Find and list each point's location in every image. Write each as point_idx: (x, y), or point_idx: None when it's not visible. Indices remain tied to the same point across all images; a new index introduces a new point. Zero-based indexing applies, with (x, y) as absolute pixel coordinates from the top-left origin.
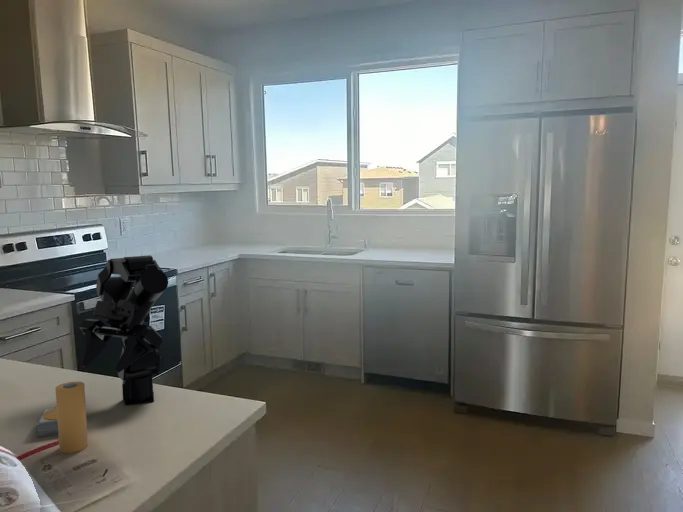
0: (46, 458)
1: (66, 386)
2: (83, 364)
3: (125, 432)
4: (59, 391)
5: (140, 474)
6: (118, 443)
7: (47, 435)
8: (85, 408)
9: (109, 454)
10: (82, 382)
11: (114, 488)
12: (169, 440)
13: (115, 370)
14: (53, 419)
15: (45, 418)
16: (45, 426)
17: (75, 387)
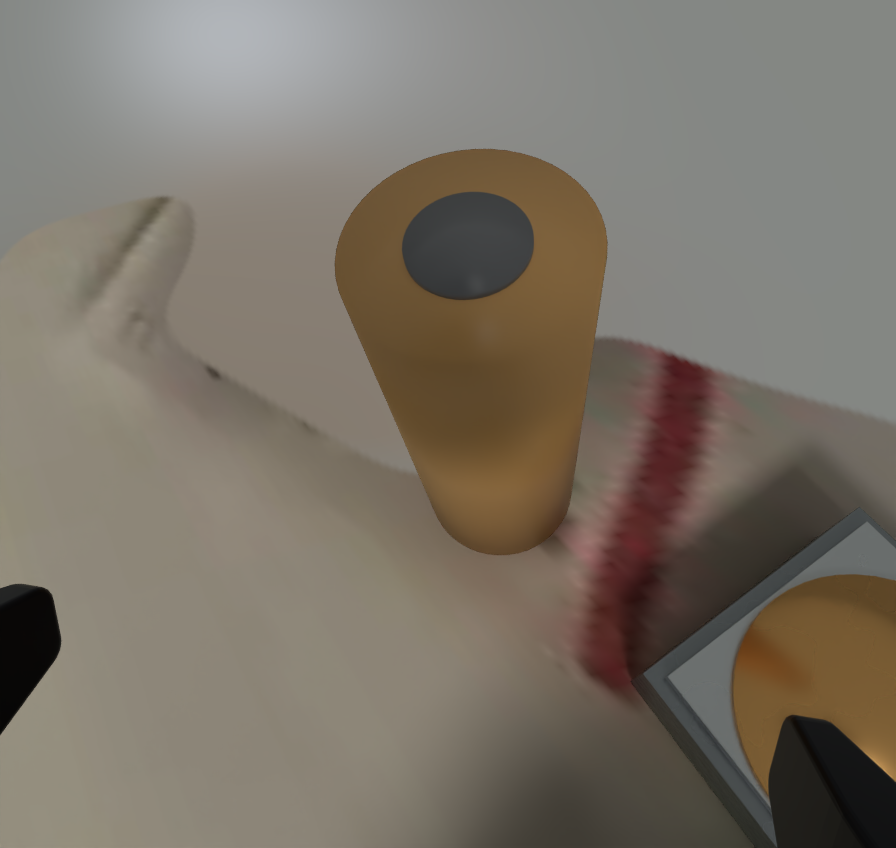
0: None
1: (479, 213)
2: (792, 724)
3: (331, 750)
4: (480, 158)
5: (60, 378)
6: (293, 598)
7: (783, 563)
8: (397, 425)
9: (274, 481)
10: (414, 356)
11: (121, 283)
12: None
13: (43, 589)
14: (807, 581)
15: (884, 578)
16: (812, 542)
17: (382, 234)
